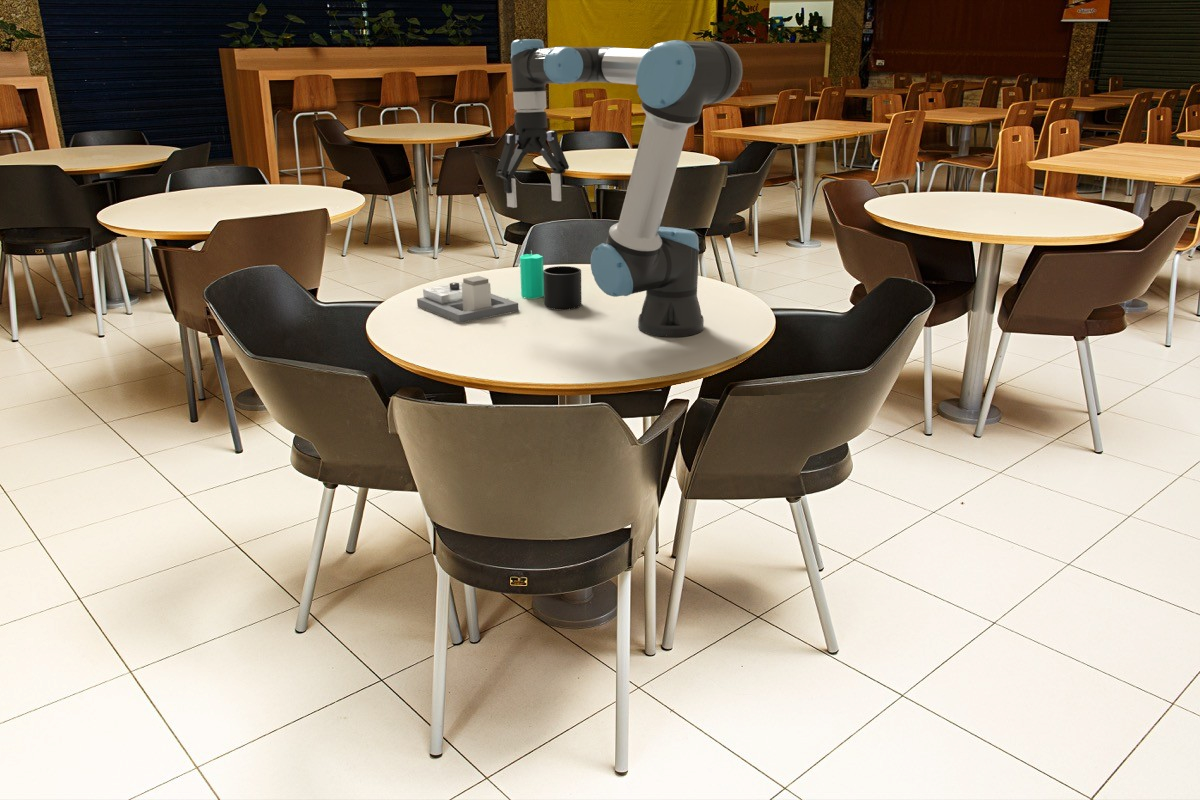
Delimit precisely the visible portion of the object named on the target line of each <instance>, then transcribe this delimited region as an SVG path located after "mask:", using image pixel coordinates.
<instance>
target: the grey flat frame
mask: <svg viewBox="0 0 1200 800" xmlns="http://www.w3.org/2000/svg"><path fill="white" fill-rule="evenodd" d="M416 304H417V305H416V306H417V307H418V308H420V309H423V310H426V311H428V312H430V313H433V314H436V315H438V316H440V317H443V318H445V319H448V320H449V321H453V322H455V323H457V324H462V323H467V322H468V323H469V322H473V321H477V320H478V321H479V320H482V319H486V318H491V317H492V318H493V317H496V316H501V315H506V314H511V313H516V312H519V308H520V307H519V302H516V301H513V300H510V299H508V298H506V297H502V296H500V295H498V294H497V295H496V294H493V293H491V306H489V307H484V308H479V309H474V310H469V311H464V312H463V300H460V301H455V302H450V303H444V304H441V303H438V302H436V301H433V300H430V299H428V298H425V297H424V296H423V297H419V298H416ZM515 311H516V312H515ZM510 312H511V313H510Z"/></svg>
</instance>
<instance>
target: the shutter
mask: <svg viewBox="0 0 1200 800" xmlns="http://www.w3.org/2000/svg"><path fill="white" fill-rule="evenodd" d="M462 282H463V281H461V282H451V283H449V284H443V285H439V286H433V287H426V288H423V289H422V293H423V297H425V298H428V299H430V300H433V301H436V302H438V303H441V304H444V303H450V302H455V301H460V300H463V297H462Z"/></svg>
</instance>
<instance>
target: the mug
mask: <svg viewBox="0 0 1200 800" xmlns="http://www.w3.org/2000/svg"><path fill="white" fill-rule="evenodd" d="M543 274H544V296H543V301H544V304H543V305H544V307H546V308H547V309H550V310H551V309H552V310H555V311H557V310H558V311H566V310H567V311H568V310H569V309H570V310H573V309H577V308H580V307H581V306H582V302H583V301H582V269H581V268H578V267H575V266H566V265H563V266H562V265H560V266H559V265H557V266H551V267H548V268H546V267H545V269H543ZM570 310H569V311H570Z"/></svg>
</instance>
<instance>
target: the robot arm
mask: <svg viewBox="0 0 1200 800" xmlns="http://www.w3.org/2000/svg"><path fill="white" fill-rule="evenodd" d="M510 54H511V55H510V62H511V64H510V65H511V80H512V90H513V91H512V93H513V96H512V97H513V109H514V110H515V111H516V112H514V114H513V116H514V128H515V130H516V133H515V134H514V133H511V134H510V133H505V136H504V146H503V149H502V152H501V155H500V158H499V161H498V163H497V164H498V165H497V168H496V171H495V176H496V177H500V179H502V181H503V191H504V193H505V194H506V207H507V208H512V209H514V208H517V207H518V202H517V201H518V200H517V185H516V183H517V181H516V178H513V177H514V175H515V173H516V172H517V170H518V168H519V167H520V165H521V163H522V161H523V159H524V157H525V156H527V155H528V154H531V153H533V154H534V153H539V154H540V155H541V156H542V158H543V159H544V161H545V162H546V163H547V165H548V166H549V167H550V169H551V171H553V172H551V173H550V188H551V191H550V192H551V201H555V202H562V186H563V182H564V181H563V174H565V173H566V170H569V168H570V166H569V163H568V161H567V159H566V156H565V154H564V151H563V150H562V149H563V148H562V147H561V145H560V142H559V138H558V132H557V131H556V130H546V129H547V127H548V113H547V111H545V110H546V109H547V92H546V91H547V90H546V84H557V85H563V84H564V85H566V84H567V85H568V84H577V83H578V84H579V83H606V84H623V85H635V86H638V88H637V89H636V91H637V94H638V96H639V98H640V100H641V104H640V106H641V109H642V111H643V112H644V115H645V119H644V124H643V128H642V131H641V136H640V140H639V143H638V147H637V150H636V153H635V154H636V155H635V158H634V162H633V167H632V171H631V174H630V178H629V182H628V184H627V185H628V186H627V189H626V192H625V193H626V194H625V198H624V201H623V204H622V208H621V212H620V214H619V215H620V216H619V219H618V222H617V223H614V224H613V225H611V226H610V227H609V230H608V235H607V238H606V241H605V243H604V242H603V243H600V244H599V245H597V246H595V247H594V248H593V250H592V251H591V255H590V270H591V274H592V276H593V279H594V281H595V284H596V285H597V286H598V288H599V289H600V290H601V291H602V292H603V293H604V294H606V295H608V296H610V297H614V298H615V297H628V296H631V295H632V294H633V295H634V294H638V293H641V292H646V293H645V294H646V295H645V298H644V301H643V304H642V308H641V313H640V314H639V316H638V319H637V322H638V325H637V327H638V330H639V331H641V332H642V333H645V334H646V335H647V334H648V335H650V336H651V335H652V336H657V337H665V338H666V337H669V338H674V337H675V338H678V337H679V338H680V337H681V338H682V337H688V336H694V335H697V334H699V333H701V332H702V331H703V330H704V321H705V320H704V316H703V314H702V311H701V306H700V303H699V299H698V280H699V278H698V277H699V259H700V258H699V255H700V248H699V245H700V244H699V236H698V234H697V233H696V231H693V230H689V229H684V228H678V227H669V226H667V227H666V226H661V223H662V220H663V217H664V212H665V210H666V206H667V202H668V199H669V196H670V192H671V189H672V186H673V182H674V178H675V175H676V170H677V168H678V165H679V161H680V157H681V154H682V151H683V147H684V143H685V140H686V138H687V133H688V129H689V128H690V127H692V126H694V125H696V124H697V123H698V122H699V120H700V116H701V113H702V109H703V108H704V107H703V106H704V105H711V104H712V105H713V104H718V103H721V102H724V101H726V100H728V99H729V98H731V96H733V95H734V93H736V91H737V90H738V89H739V86H740V84H741V83H742V78H743V73H744V72H743V71H744V70H743V63H742V60H741V57H740V56H739V54H738V52H737V51H736V49H734V48H733V47H732V46H730V45H728V44H727V43H725V42H724V41H723V42H722V41H718V40H707V41H706V40H704V41H703V40H700V41H698V40H685V41H684V40H680V39H674V40H668V41H662V42H658V43H656V44H654V45H653V46H651V47H650V48H633V47H632V48H631V47H630V48H629V47H614V46H593V47H592V46H590V47H588V46H587V47H586V46H583V47H582V46H581V47H580V46H573V47H572V46H564V45H563V46H561V45H560V46H555V47H554V46H552V47H545V45H544V41H543V40H542V39H538V38H537V39H535V38H534V39H533V38H532V39H529V38H527V39H515V40H513V41H512V42H511V43H510ZM547 142H548V143H547ZM516 144H517V145H516Z"/></svg>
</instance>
